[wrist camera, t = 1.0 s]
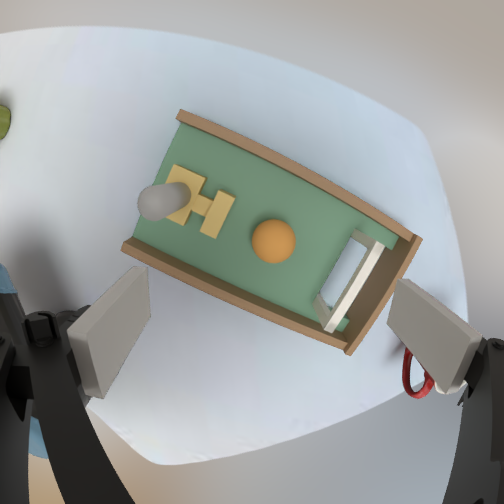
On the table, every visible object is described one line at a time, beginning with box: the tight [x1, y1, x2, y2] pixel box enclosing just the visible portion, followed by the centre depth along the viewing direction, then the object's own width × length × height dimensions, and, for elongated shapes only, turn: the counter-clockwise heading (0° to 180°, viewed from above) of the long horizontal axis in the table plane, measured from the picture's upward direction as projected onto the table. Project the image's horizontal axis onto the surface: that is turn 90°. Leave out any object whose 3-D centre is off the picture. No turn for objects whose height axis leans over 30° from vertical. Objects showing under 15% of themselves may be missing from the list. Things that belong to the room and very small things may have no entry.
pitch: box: [121, 109, 423, 356], centre depth 33 cm, size 32×18×9 cm, turn 64°
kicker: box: [137, 164, 236, 239], centre depth 29 cm, size 8×6×11 cm
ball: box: [252, 219, 296, 263], centre depth 33 cm, size 5×5×5 cm
